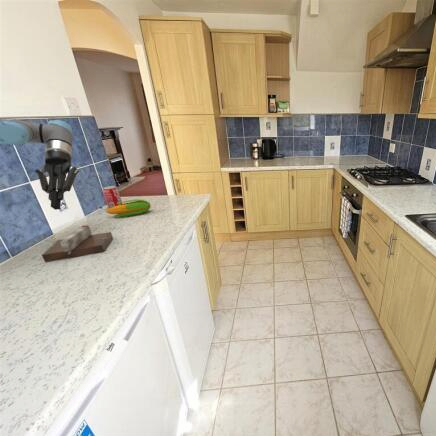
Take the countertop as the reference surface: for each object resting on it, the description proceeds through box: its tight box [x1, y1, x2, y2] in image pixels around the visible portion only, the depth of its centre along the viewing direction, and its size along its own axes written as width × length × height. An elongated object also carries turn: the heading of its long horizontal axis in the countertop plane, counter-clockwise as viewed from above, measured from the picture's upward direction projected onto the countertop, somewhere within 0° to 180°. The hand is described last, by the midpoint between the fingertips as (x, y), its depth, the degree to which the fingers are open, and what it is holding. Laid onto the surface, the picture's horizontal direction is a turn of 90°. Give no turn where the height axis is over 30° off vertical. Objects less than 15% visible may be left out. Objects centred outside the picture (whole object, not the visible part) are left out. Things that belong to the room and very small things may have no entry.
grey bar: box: [60, 224, 93, 252], centre depth 93 cm, size 14×2×4 cm, turn 11°
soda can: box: [102, 185, 123, 209], centre depth 135 cm, size 7×7×12 cm
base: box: [41, 231, 114, 263], centre depth 94 cm, size 18×18×3 cm
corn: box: [105, 199, 151, 218], centre depth 126 cm, size 7×8×20 cm
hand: (55, 207), depth 89 cm, fingers closed
